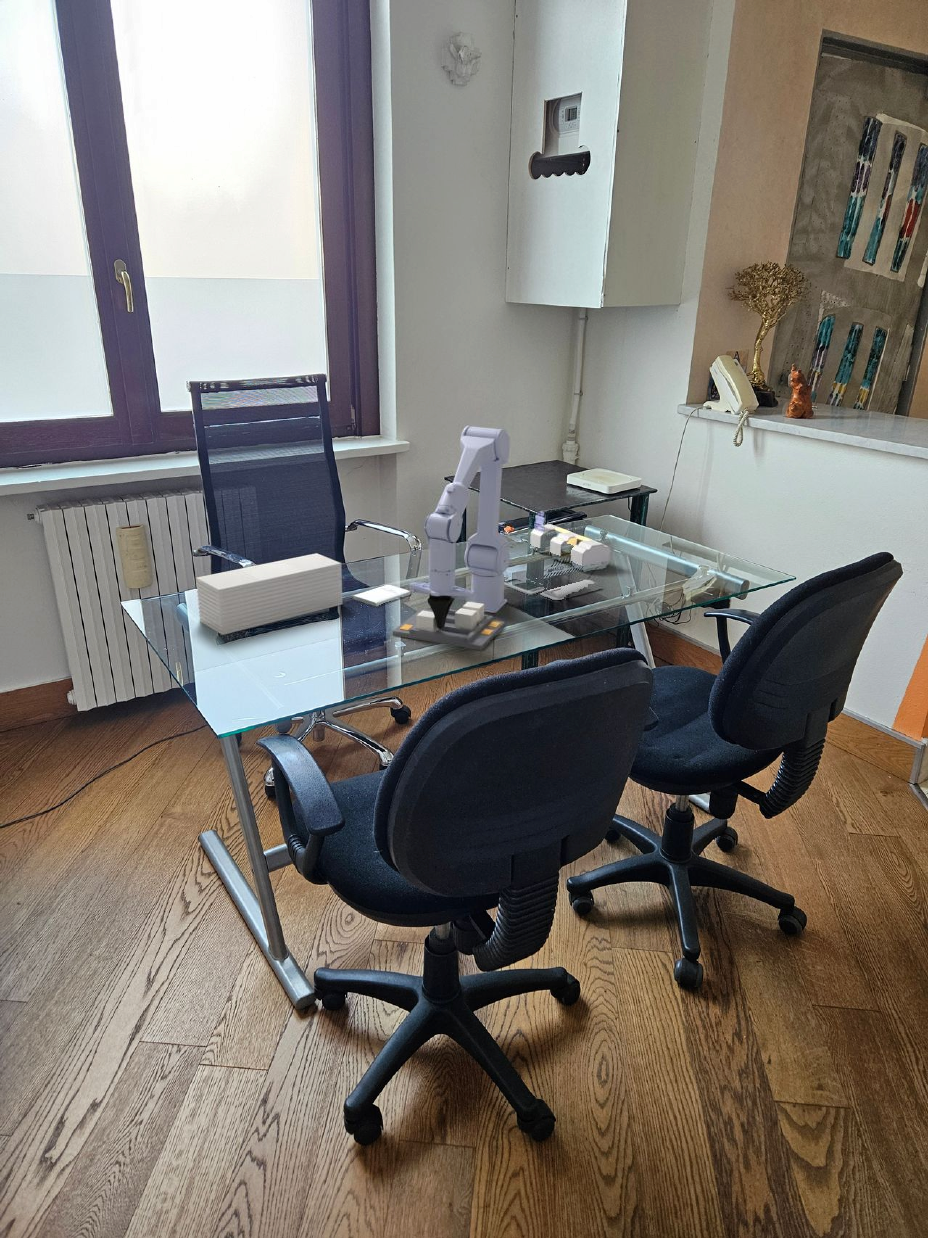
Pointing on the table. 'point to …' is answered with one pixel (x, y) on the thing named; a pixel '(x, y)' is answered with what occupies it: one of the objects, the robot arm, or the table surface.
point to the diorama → (583, 547)
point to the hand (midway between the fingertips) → (440, 626)
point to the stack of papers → (268, 592)
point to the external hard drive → (381, 595)
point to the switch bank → (453, 631)
